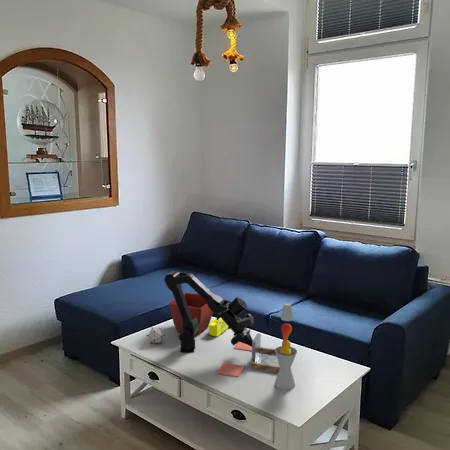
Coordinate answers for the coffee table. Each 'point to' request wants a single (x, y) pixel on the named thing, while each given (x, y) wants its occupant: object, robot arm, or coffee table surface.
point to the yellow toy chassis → (217, 327)
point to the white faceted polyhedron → (155, 335)
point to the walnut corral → (265, 366)
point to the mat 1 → (230, 369)
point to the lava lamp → (285, 353)
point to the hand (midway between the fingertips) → (254, 346)
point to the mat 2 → (242, 346)
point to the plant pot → (192, 312)
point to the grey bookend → (262, 357)
